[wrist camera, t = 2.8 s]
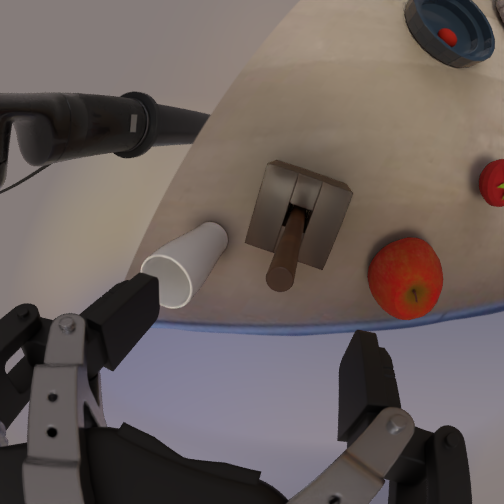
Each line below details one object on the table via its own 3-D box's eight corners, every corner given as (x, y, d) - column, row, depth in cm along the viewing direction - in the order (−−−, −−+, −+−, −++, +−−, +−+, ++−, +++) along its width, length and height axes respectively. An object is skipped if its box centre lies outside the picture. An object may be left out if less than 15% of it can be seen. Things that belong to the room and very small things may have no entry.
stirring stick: (292, 209, 38) (262, 286, 18) (296, 197, 37) (270, 263, 17) (304, 213, 38) (288, 296, 18) (308, 201, 37) (297, 272, 17)
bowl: (398, 41, 25) (409, 27, 20) (408, -16, 19) (417, -32, 14) (474, 84, 23) (492, 78, 18) (479, 24, 18) (494, 14, 13)
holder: (256, 226, 40) (244, 242, 34) (276, 159, 36) (267, 162, 29) (322, 249, 39) (322, 270, 33) (346, 184, 35) (353, 192, 28)
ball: (433, 42, 23) (441, 36, 20) (435, 28, 21) (443, 22, 19) (451, 52, 22) (459, 47, 20) (452, 38, 21) (461, 32, 18)
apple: (404, 214, 34) (432, 239, 24) (441, 265, 35) (469, 300, 26) (350, 262, 39) (359, 301, 29) (390, 307, 40) (405, 351, 30)
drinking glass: (242, 246, 42) (205, 298, 28) (207, 264, 44) (162, 316, 31) (218, 208, 40) (168, 243, 27) (184, 228, 43) (129, 268, 29)
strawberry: (457, 174, 30) (494, 186, 21) (486, 147, 27) (524, 152, 18) (474, 206, 30) (510, 226, 21) (502, 179, 27) (539, 192, 18)
